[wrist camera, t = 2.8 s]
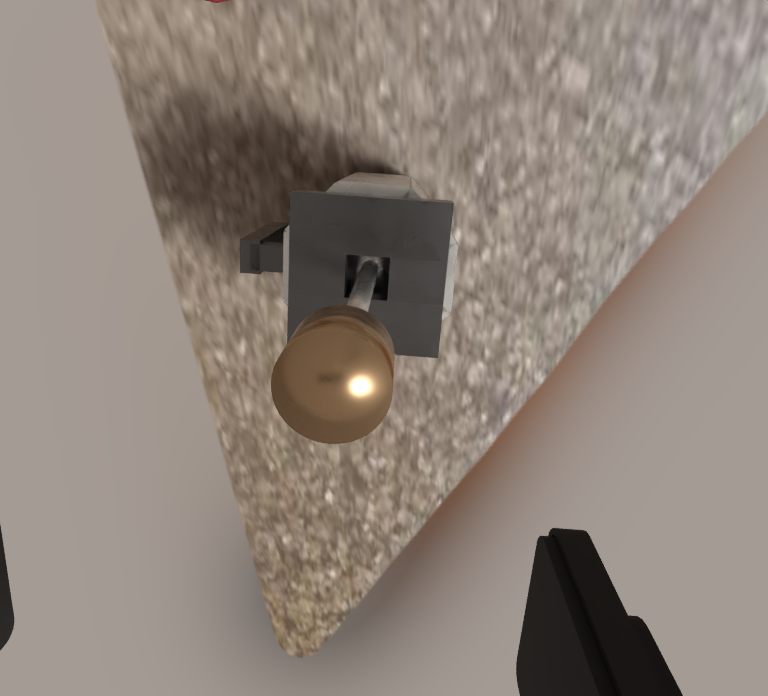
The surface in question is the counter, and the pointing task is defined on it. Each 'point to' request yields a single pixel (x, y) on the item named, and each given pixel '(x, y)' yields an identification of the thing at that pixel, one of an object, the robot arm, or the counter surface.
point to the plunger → (339, 363)
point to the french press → (364, 254)
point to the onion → (216, 0)
